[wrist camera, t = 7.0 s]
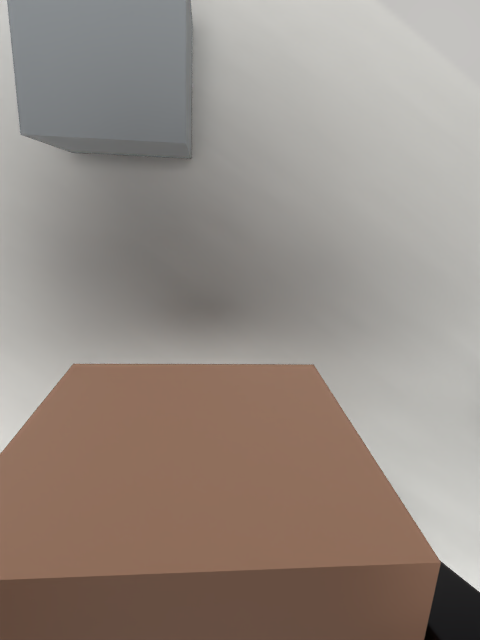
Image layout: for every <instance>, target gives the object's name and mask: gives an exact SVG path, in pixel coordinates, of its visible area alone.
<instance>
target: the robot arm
mask: <svg viewBox="0 0 480 640" xmlns="http://www.w3.org/2000/svg"><path fill="white" fill-rule="evenodd" d="M440 562H441V561H440ZM424 640H480V592H479V591H477V590H476V589H475V588H474V587H472V586H471V585H470V584H469V583H467V582H466V581H465V580H464V579H462V578H461V577H460V576H459V575H457V574H456V573H455V572H454V571H452V570H451V569H450V568H449V567H447V566H446V565H445V564H444V563H442V562H441V565H440V569H439V574H438V578H437V583H436V587H435V592H434V597H433V601H432V606H431V610H430V615H429V619H428V624H427V629H426V633H425V638H424Z"/></svg>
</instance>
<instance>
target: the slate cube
mask: <svg viewBox="0 0 480 640" xmlns="http://www.w3.org/2000/svg"><path fill="white" fill-rule="evenodd" d="M7 3H8V13H9V23H10V33H11V43H12V53H13V63H14V73H15V83H16V93H17V103H18V113H19V123H20V133H21V135H24V136H26V137H29V138H32V139H35V140H38V141H41V142H44V143H46V144H49V145H52V146H55V147H58V148H61V149H64V150H66V151H69V152H74V153H94V154H113V155H133V156H152V157H172V158H191V152H192V12H191V0H7Z"/></svg>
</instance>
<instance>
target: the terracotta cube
mask: <svg viewBox="0 0 480 640" xmlns="http://www.w3.org/2000/svg"><path fill="white" fill-rule="evenodd" d="M440 565H441V562H440V560H439V559H438V557H437V556H436V554H435V552H434V551H433V549H432V548H431V546H430V545H429V543H428V542H427V540H426V538H425V537H424V535H423V534H422V532H421V531H420V529H419V528H418V526H417V525H416V523H415V521H414V520H413V518H412V517H411V515H410V514H409V512H408V511H407V509H406V507H405V506H404V504H403V503H402V501H401V500H400V498H399V497H398V495H397V493H396V492H395V490H394V489H393V487H392V486H391V484H390V483H389V481H388V480H387V478H386V476H385V475H384V473H383V472H382V470H381V469H380V467H379V466H378V464H377V462H376V461H375V459H374V458H373V456H372V455H371V453H370V452H369V450H368V448H367V447H366V445H365V444H364V442H363V441H362V439H361V438H360V436H359V435H358V433H357V431H356V430H355V428H354V427H353V425H352V424H351V422H350V421H349V419H348V417H347V416H346V414H345V413H344V411H343V410H342V408H341V407H340V405H339V403H338V402H337V400H336V399H335V397H334V396H333V394H332V393H331V391H330V390H329V388H328V386H327V385H326V383H325V382H324V380H323V379H322V377H321V376H320V374H319V372H318V371H317V369H316V368H315V366H314V365H276V364H73V365H72V366H71V367H70V369H69V370H68V371H67V372H66V374H65V375H64V376H63V377H62V378H61V380H60V381H59V382H58V383H57V385H56V386H55V387H54V388H53V390H52V391H51V392H50V393H49V395H48V396H47V397H46V398H45V399H44V401H43V402H42V403H41V404H40V406H39V407H38V408H37V409H36V411H35V412H34V413H33V414H32V416H31V417H30V418H29V419H28V420H27V422H26V423H25V424H24V425H23V427H22V428H21V429H20V430H19V432H18V433H17V434H16V435H15V437H14V438H13V439H12V440H11V441H10V443H9V444H8V445H7V446H6V448H5V449H4V450H3V451H2V453H1V454H0V640H424V638H425V633H426V629H427V624H428V619H429V615H430V610H431V606H432V601H433V597H434V592H435V587H436V583H437V578H438V574H439V569H440Z"/></svg>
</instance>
